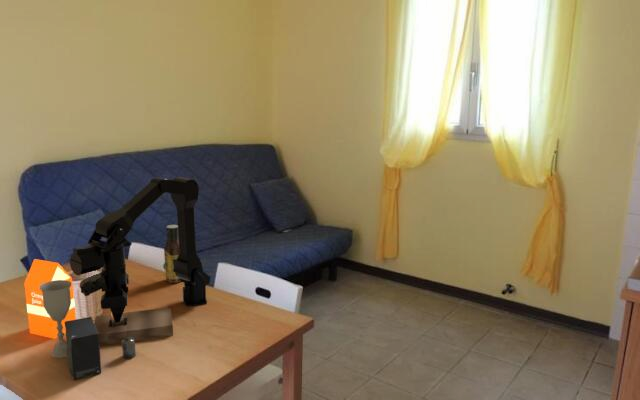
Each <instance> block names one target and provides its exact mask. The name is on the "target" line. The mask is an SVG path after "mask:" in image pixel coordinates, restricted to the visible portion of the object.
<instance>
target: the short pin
mask: <svg viewBox="0 0 640 400" xmlns="http://www.w3.org/2000/svg"><path fill="white" fill-rule="evenodd" d="M121 347H122V350H121V351H122V358H123V359H124V360H131V359H134V358H136V356H137V353H136V340H135V338H134V337H126V338H124V339H122V342H121Z"/></svg>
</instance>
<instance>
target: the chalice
mask: <svg viewBox="0 0 640 400" xmlns="http://www.w3.org/2000/svg"><path fill="white" fill-rule="evenodd" d="M70 286H71V282H70V281H66V280H56V281H50V282H46V283H44V284H42V285H40V286H39V288H40V290H41V291H42V294H43V303H44V308H45V310H46V311H47V313H48V314H49V316H50V317H51V318H52V320H53V321H57V328H56V329H57V330H58V334H57V336H58V337H57V338H58V341H57V343H55V344H54V345H53V347H52V352H51V354H50V355H51V356H52V357H53V358H64V357H67V342H66V340H64V336H65V333H63V332H62V329H63V326H62V323H61V322H62V320H64V319H65V318H66V315H67V313H68V311H69V308H70V304H71V297H70Z"/></svg>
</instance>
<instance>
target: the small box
mask: <svg viewBox="0 0 640 400" xmlns="http://www.w3.org/2000/svg"><path fill="white" fill-rule="evenodd" d="M64 323H65V330H66V333H65V341H66V342H67V356H66V357H67V359H66V360H67V363H68V367H69V372H70V375H71V377H72V378H71V379H72V380H73V381H76V380H81V379H84V378H87V377H88V378H89V377H92V376H95V375H99V374H102V366H101V365H102V362H101V348H100V347H101V345H99V333H98V331H97V329H96V326H95V324H94V323H95V321H94V320H93V318H92V316H89V317H88V316H87V317H82V318H78V319H77V318H76V320H70V321H65V322H64Z"/></svg>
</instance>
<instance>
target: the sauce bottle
mask: <svg viewBox="0 0 640 400" xmlns="http://www.w3.org/2000/svg"><path fill="white" fill-rule="evenodd" d="M165 228H166V229H165V230H166V235H167V236H166V241H165V244H164V249H163V250H164V251H163V253H164V254H163V255H164V271H165V273H164V274H165V279H166V280H165V281H167V282H168V283H171V284H175V283H176V284H177V283H181V282H180V280H179V278H178V277H177V276H176V275H175V272H173V269H174V265H173V260H174V259H177V258H178V256H179V254H180V249H179V234H178V224H169V225H167V226H166V227H165Z"/></svg>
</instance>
